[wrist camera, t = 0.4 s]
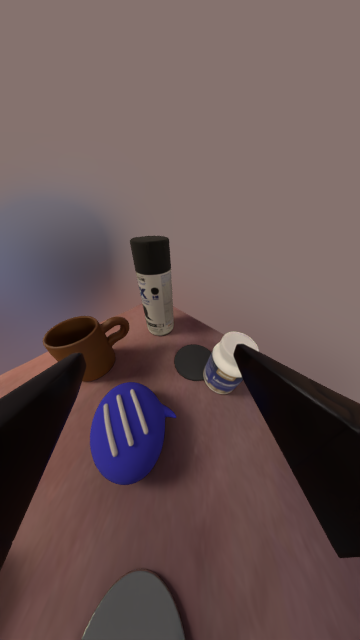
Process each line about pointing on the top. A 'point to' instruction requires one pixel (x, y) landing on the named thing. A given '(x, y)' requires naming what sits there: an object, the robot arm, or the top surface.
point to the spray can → (154, 281)
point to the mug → (86, 342)
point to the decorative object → (128, 433)
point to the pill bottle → (225, 363)
